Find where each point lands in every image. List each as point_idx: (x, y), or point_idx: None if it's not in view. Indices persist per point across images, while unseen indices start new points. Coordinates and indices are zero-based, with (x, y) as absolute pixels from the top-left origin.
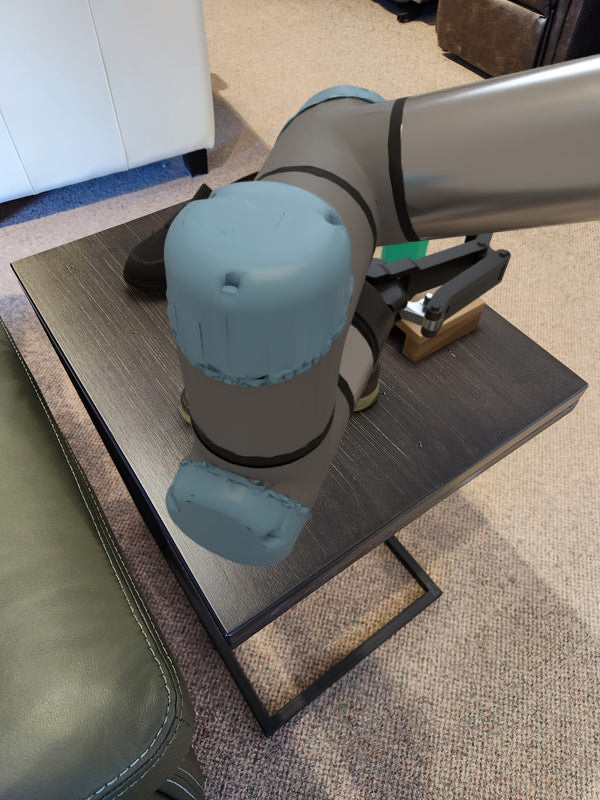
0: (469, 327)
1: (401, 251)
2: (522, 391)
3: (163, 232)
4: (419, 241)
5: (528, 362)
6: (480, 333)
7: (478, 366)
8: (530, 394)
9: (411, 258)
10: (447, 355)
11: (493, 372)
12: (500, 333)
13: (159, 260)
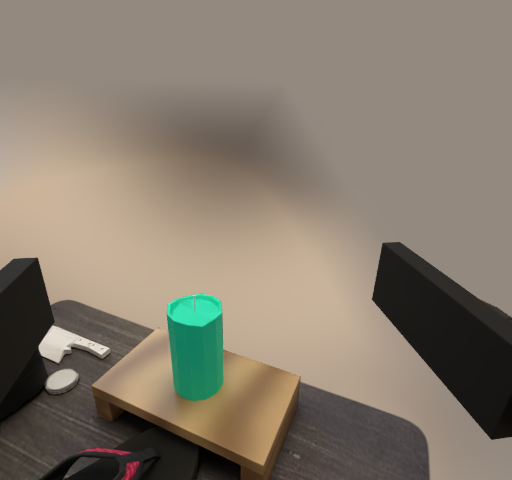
0: (294, 409)
1: (197, 359)
2: (391, 469)
3: None
4: (215, 341)
5: (367, 423)
6: (304, 409)
7: (330, 457)
8: (401, 468)
9: (211, 362)
10: (291, 460)
11: (348, 457)
12: (321, 399)
13: None
